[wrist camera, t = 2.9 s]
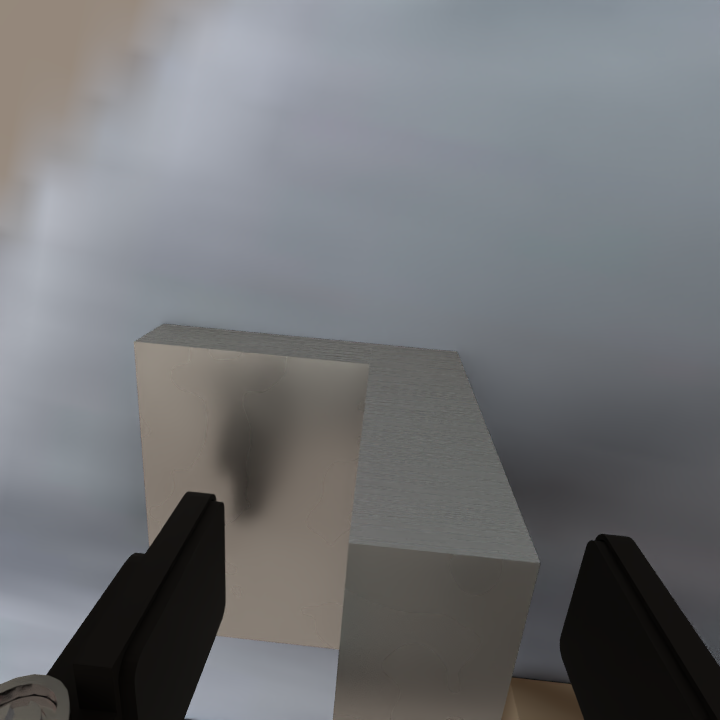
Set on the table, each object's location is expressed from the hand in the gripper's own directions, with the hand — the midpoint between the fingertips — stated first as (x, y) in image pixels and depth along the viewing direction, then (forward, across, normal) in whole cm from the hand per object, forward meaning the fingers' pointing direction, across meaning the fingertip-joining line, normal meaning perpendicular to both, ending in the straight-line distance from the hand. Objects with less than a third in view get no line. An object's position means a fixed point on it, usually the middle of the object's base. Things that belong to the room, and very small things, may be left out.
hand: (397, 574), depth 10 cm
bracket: (+3, +3, 0) cm, 4 cm away
